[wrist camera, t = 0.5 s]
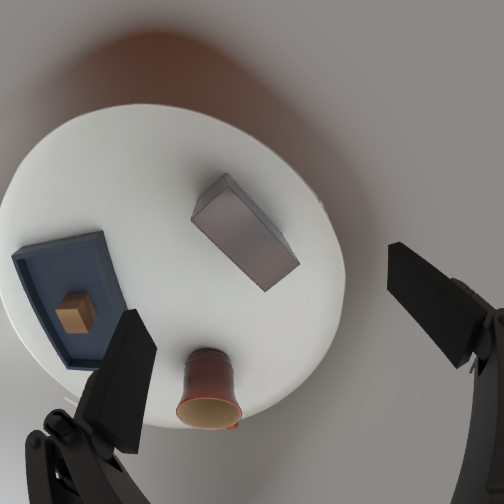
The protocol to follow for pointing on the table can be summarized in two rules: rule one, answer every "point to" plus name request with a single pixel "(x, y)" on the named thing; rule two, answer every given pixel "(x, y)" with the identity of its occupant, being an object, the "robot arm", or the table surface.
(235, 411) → the mug
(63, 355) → the tray
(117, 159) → the table surface
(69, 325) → the wooden cube
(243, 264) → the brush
